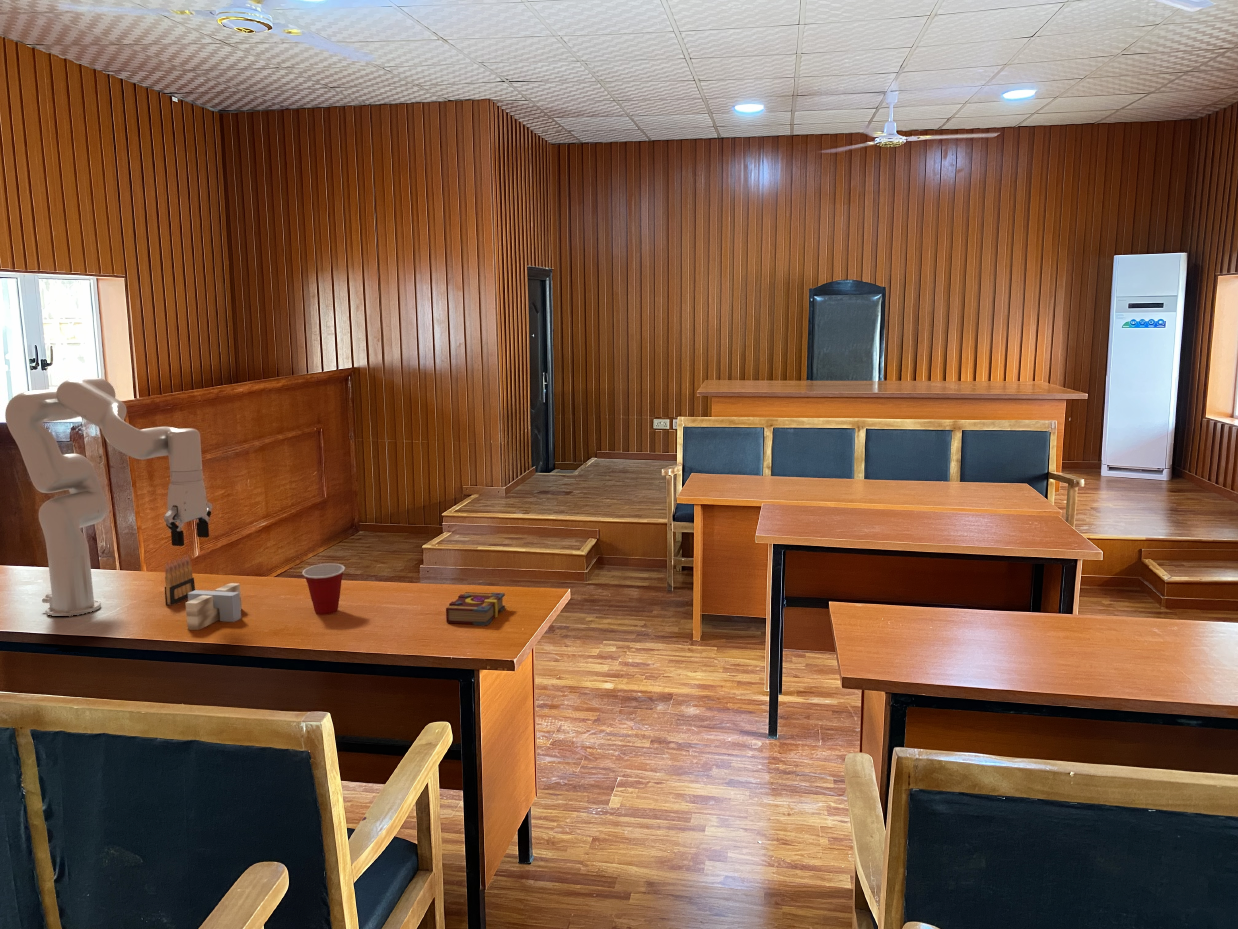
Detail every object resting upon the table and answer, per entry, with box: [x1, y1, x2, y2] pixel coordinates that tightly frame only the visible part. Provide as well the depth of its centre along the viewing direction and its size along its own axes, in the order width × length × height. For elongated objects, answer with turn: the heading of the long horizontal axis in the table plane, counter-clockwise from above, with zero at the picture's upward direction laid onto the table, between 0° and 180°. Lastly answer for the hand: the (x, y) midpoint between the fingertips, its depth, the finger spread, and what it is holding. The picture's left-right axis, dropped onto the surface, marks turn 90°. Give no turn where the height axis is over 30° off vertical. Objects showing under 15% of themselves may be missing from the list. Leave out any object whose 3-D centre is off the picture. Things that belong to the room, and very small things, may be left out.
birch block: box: [185, 582, 243, 631], centre depth 228 cm, size 18×3×7 cm, turn 169°
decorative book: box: [445, 591, 506, 626], centre depth 230 cm, size 11×16×5 cm
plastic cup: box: [301, 562, 346, 616], centre depth 233 cm, size 11×11×12 cm
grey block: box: [187, 589, 242, 623], centre depth 228 cm, size 13×3×7 cm, turn 79°
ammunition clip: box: [164, 554, 196, 606], centre depth 246 cm, size 11×2×12 cm, turn 171°
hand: (190, 541), depth 227 cm, fingers open, 9 cm apart
